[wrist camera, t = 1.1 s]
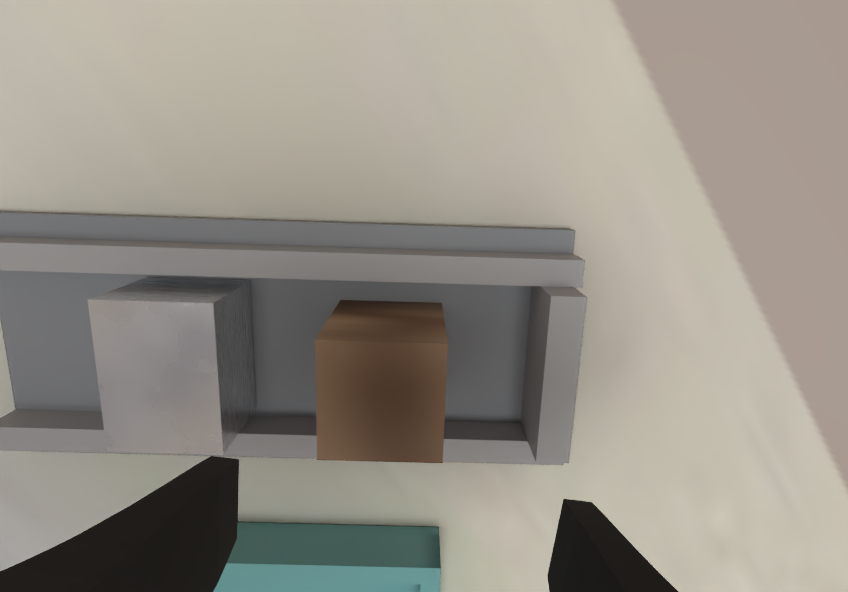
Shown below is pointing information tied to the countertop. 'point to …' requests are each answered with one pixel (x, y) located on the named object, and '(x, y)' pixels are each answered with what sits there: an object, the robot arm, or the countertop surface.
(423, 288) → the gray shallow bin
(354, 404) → the stop block
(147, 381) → the light grey block
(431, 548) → the tray
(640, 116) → the countertop surface
